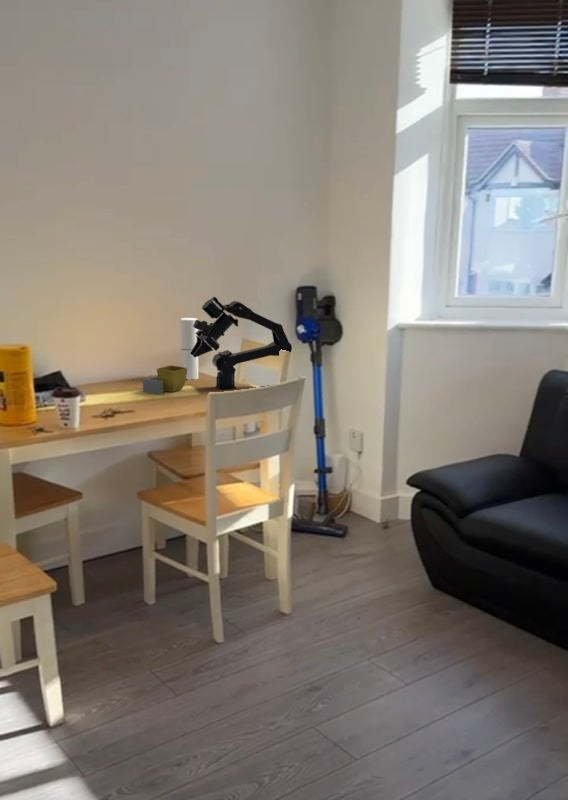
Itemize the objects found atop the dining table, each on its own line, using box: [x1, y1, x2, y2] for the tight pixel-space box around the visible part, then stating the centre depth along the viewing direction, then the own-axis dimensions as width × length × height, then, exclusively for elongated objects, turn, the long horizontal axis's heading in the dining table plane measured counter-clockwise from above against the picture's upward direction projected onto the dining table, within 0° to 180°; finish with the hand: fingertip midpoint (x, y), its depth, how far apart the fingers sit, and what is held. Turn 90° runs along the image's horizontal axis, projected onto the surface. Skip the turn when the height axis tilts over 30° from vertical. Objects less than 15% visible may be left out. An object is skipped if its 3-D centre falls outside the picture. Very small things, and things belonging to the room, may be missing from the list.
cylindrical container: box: [180, 317, 199, 381], centre depth 323 cm, size 7×7×25 cm
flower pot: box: [156, 364, 188, 393], centre depth 301 cm, size 9×9×9 cm
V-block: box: [142, 375, 164, 395], centre depth 299 cm, size 7×12×5 cm, turn 18°
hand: (192, 355), depth 302 cm, fingers open, 5 cm apart
